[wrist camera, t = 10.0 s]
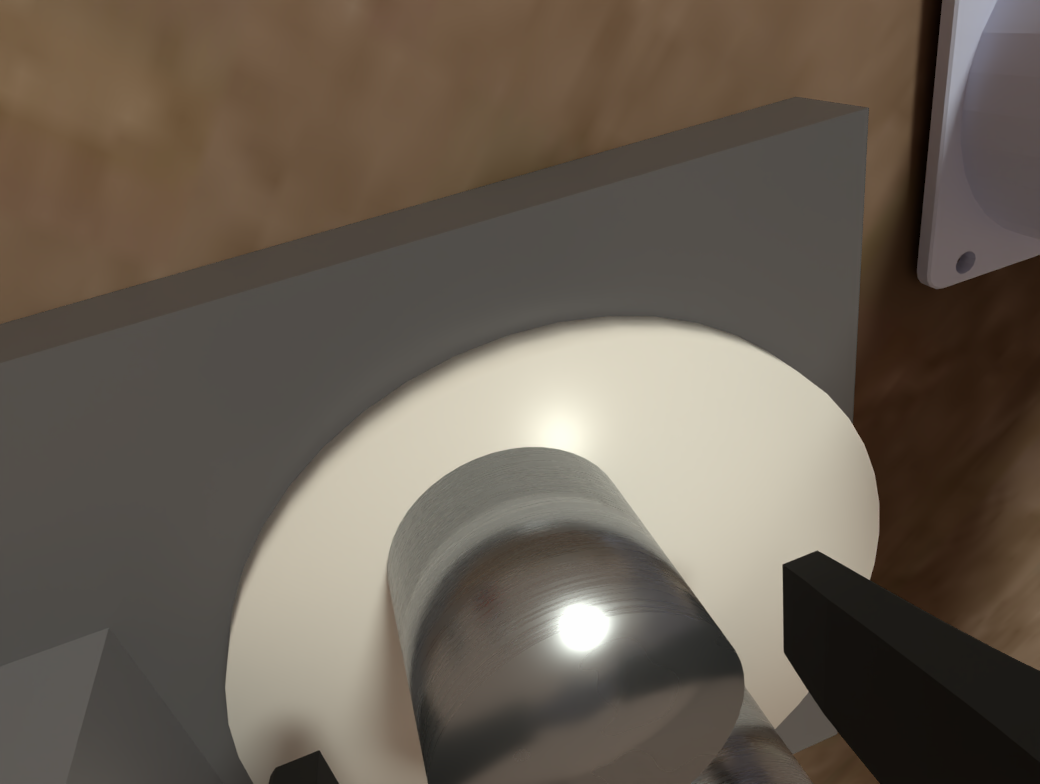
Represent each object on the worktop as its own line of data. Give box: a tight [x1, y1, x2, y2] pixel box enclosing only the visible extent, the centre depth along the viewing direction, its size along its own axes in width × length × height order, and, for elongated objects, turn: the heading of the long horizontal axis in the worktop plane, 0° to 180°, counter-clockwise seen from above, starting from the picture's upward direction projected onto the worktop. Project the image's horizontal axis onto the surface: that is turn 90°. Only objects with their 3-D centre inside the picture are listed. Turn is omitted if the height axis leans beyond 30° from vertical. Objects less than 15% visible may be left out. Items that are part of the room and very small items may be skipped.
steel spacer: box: [387, 447, 745, 784], centre depth 11 cm, size 4×4×4 cm
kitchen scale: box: [0, 97, 879, 784], centre depth 14 cm, size 20×18×6 cm
